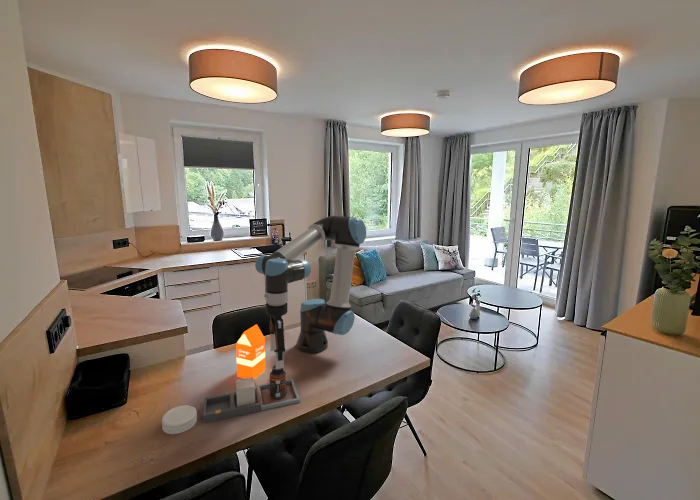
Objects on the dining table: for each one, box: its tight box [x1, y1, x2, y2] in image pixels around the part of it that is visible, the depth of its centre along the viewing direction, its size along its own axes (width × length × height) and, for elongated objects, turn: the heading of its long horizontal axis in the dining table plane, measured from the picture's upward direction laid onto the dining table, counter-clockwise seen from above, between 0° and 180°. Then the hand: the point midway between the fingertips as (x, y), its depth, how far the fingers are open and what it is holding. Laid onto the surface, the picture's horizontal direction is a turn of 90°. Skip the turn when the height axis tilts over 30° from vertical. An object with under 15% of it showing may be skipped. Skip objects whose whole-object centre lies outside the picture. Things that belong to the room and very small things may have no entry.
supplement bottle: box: [269, 364, 287, 400], centre depth 120 cm, size 6×6×11 cm
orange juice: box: [235, 324, 266, 380], centre depth 133 cm, size 8×9×20 cm
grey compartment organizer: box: [202, 377, 261, 424], centre depth 113 cm, size 18×10×8 cm, turn 111°
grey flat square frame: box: [256, 378, 301, 411], centre depth 121 cm, size 14×14×1 cm
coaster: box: [161, 404, 198, 435], centre depth 105 cm, size 10×10×4 cm
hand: (276, 358), depth 118 cm, fingers open, 13 cm apart
